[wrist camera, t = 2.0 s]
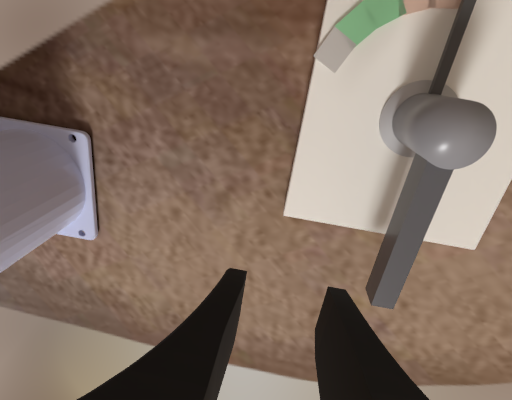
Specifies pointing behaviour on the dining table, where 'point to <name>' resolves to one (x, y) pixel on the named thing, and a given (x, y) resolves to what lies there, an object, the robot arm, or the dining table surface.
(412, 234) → the grey dial pointer
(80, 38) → the dining table surface
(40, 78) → the dining table surface
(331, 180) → the board
